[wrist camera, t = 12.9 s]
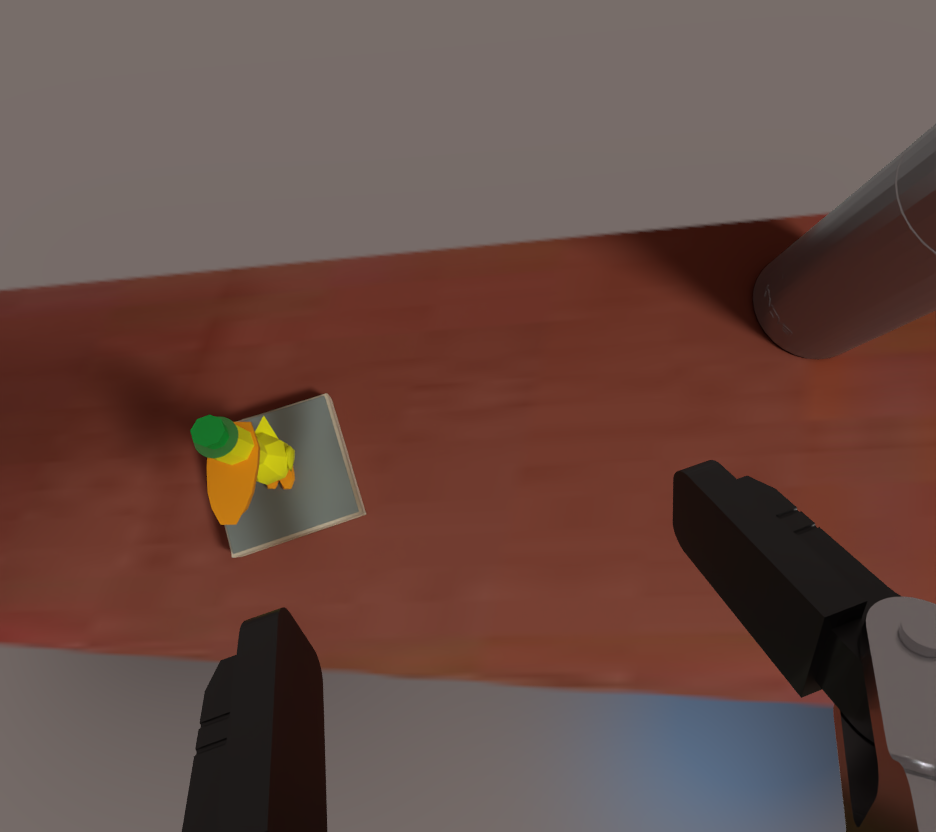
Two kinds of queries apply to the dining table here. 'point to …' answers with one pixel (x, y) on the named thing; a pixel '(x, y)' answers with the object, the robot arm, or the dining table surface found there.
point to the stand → (301, 480)
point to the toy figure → (240, 462)
